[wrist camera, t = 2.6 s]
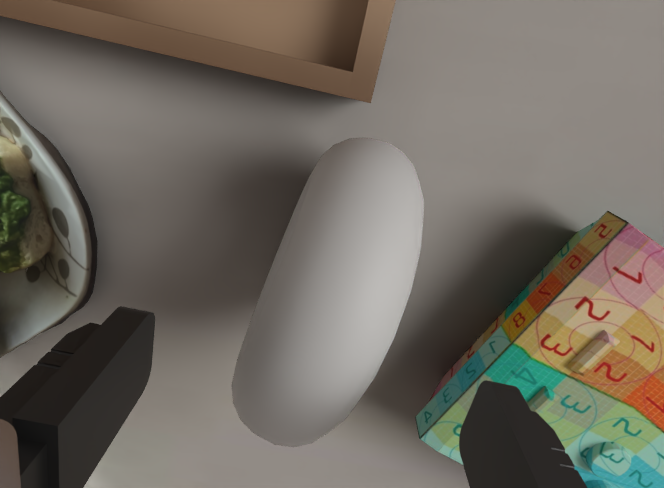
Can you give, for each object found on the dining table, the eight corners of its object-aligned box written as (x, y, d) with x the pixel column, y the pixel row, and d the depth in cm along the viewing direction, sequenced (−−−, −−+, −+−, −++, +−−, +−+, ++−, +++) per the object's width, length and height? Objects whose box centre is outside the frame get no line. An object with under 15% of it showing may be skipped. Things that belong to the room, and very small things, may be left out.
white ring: (321, 333, 21) (300, 544, 12) (253, 308, 21) (176, 506, 11) (417, 139, 17) (495, 224, 8) (337, 103, 17) (325, 150, 8)
